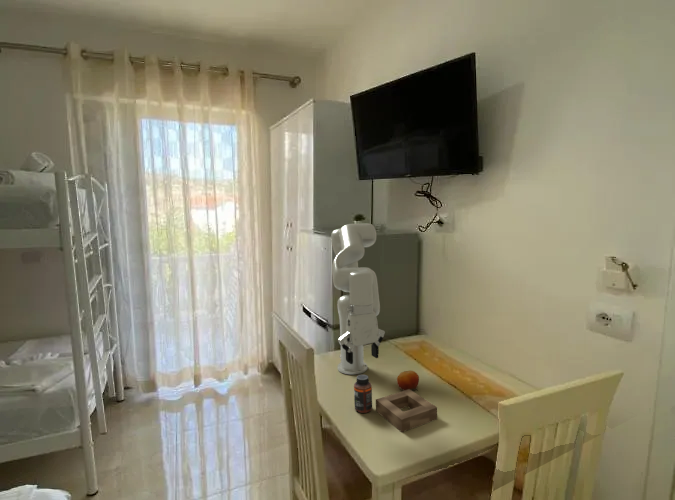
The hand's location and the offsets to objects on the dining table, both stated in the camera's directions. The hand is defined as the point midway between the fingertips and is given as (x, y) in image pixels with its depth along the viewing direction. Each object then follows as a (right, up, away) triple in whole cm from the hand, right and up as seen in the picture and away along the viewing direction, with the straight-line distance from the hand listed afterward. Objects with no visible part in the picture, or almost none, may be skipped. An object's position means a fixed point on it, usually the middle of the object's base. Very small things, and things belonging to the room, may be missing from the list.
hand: (362, 359), depth 125 cm
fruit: (+18, -16, +16) cm, 29 cm away
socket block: (+14, -17, -2) cm, 22 cm away
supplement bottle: (0, -18, +2) cm, 18 cm away
